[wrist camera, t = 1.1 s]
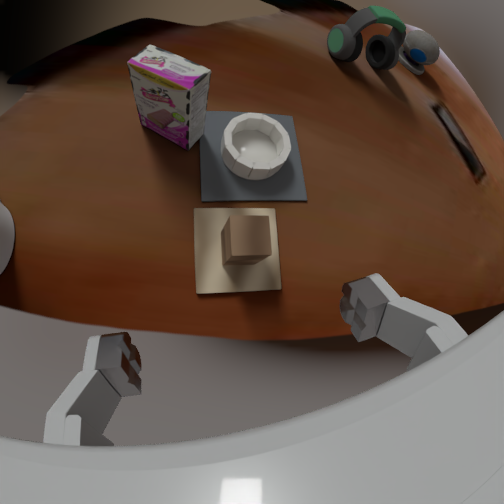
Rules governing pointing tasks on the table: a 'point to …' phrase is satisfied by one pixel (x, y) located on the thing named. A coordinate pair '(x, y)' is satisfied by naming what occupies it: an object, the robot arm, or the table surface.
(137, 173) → the table surface
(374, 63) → the headphones
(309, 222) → the table surface
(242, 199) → the mat
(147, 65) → the candy bar box
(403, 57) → the webcam
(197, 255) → the lid
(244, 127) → the bowl
